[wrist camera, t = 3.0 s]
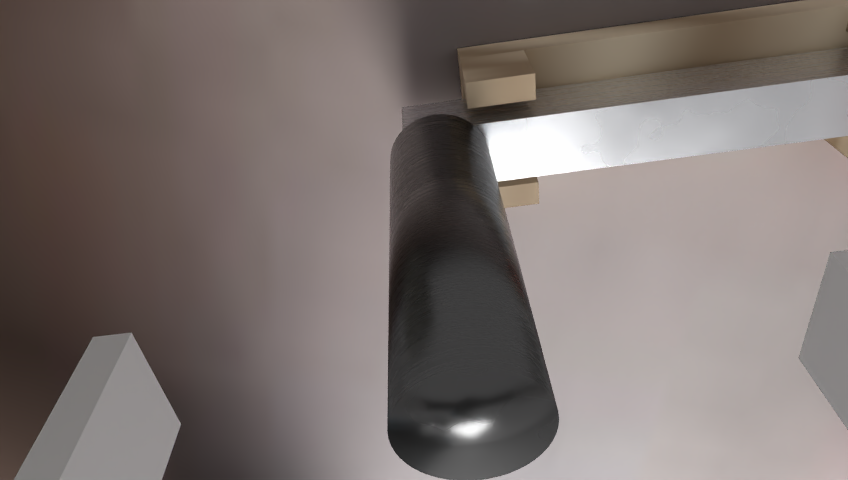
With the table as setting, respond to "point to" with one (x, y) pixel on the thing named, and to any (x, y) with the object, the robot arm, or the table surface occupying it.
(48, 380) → the table surface
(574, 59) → the strip
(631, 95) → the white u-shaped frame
